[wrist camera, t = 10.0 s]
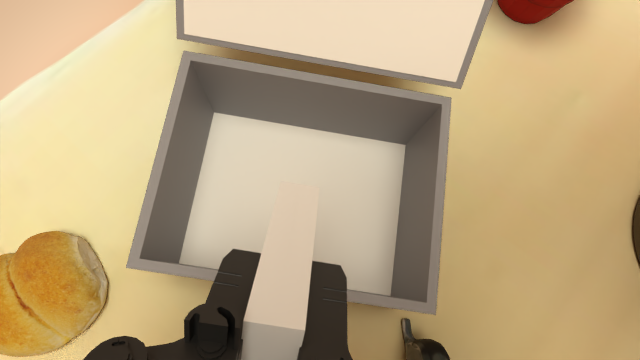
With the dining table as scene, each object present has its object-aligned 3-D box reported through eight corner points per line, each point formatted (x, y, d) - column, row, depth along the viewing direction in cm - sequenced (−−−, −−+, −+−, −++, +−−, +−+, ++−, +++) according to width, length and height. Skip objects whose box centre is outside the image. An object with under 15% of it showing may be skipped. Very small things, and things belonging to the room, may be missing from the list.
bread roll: (-33, 280, 30) (-81, 281, 26) (80, 218, 32) (51, 210, 28) (12, 379, 29) (-32, 395, 25) (127, 309, 30) (103, 314, 26)
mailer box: (410, 141, 35) (451, 97, 26) (395, 304, 32) (435, 314, 23) (210, 107, 34) (183, 50, 26) (171, 270, 31) (126, 267, 22)
